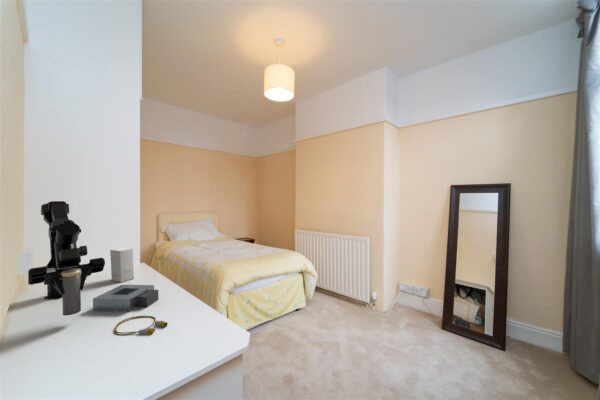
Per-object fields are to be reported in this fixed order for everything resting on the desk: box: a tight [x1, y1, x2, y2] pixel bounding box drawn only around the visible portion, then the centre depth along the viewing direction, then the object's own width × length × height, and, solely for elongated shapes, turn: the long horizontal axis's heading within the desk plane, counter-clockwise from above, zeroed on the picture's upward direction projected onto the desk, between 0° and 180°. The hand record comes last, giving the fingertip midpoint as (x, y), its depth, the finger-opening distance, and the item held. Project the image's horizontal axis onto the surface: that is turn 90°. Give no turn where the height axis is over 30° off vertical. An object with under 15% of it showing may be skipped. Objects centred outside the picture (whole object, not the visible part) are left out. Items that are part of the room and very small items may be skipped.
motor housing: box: [92, 284, 159, 313], centre depth 97 cm, size 18×14×4 cm
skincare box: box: [109, 246, 135, 283], centre depth 123 cm, size 8×7×16 cm
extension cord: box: [114, 315, 168, 336], centre depth 80 cm, size 12×16×2 cm
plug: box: [61, 268, 82, 317], centre depth 81 cm, size 5×5×14 cm
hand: (72, 292), depth 80 cm, fingers closed on plug, 4 cm apart
